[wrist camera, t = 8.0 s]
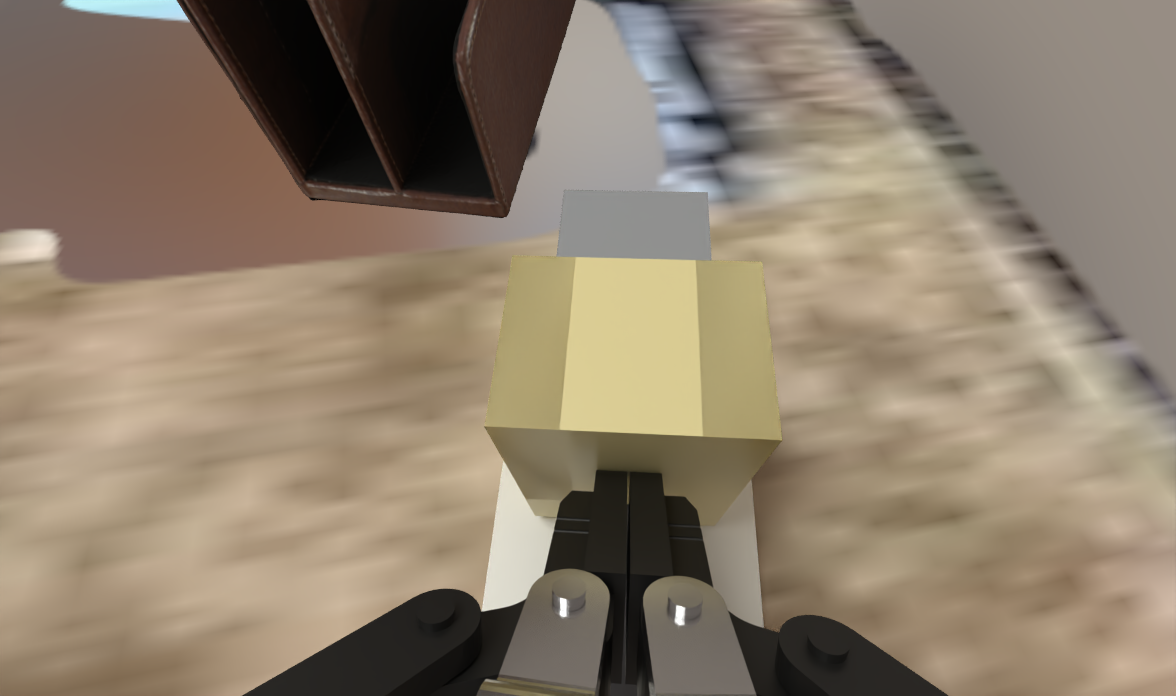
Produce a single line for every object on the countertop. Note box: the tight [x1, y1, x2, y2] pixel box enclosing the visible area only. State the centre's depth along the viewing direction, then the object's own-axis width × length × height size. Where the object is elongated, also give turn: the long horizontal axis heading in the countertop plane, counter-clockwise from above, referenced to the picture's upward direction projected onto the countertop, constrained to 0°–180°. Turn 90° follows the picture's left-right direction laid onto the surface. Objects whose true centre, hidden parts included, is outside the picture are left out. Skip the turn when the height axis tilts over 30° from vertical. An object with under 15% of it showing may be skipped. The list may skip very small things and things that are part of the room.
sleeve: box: [484, 256, 782, 526], centre depth 14 cm, size 5×4×8 cm
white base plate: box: [482, 190, 764, 696], centre depth 14 cm, size 8×23×5 cm, turn 176°
